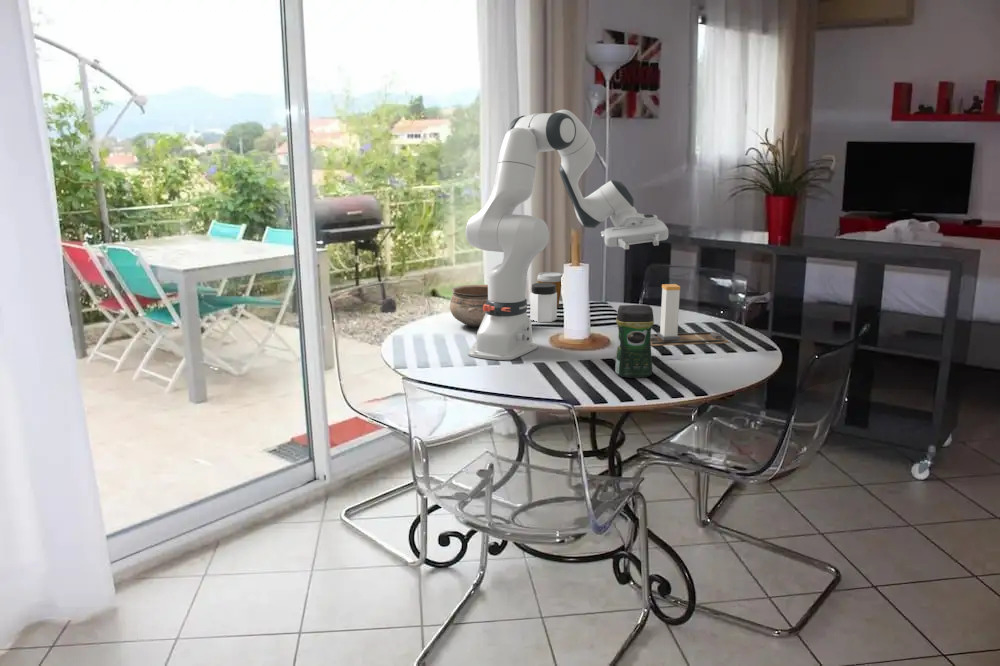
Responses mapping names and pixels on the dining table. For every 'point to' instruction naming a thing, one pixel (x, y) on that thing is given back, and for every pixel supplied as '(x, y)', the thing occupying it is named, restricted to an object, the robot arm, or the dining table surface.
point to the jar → (543, 302)
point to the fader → (669, 312)
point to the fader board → (690, 339)
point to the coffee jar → (634, 341)
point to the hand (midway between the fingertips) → (641, 245)
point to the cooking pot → (469, 304)
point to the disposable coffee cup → (551, 281)
